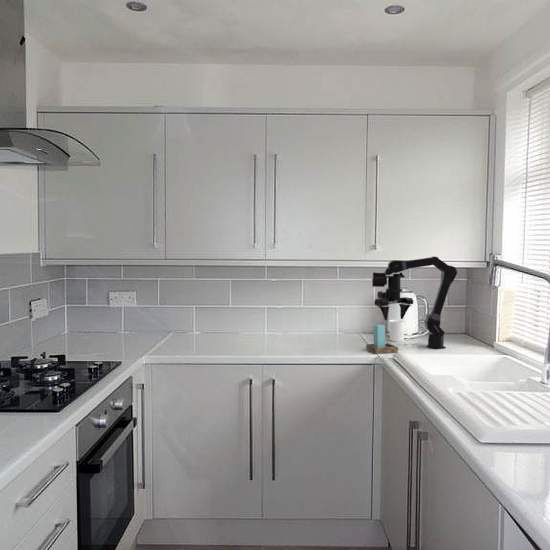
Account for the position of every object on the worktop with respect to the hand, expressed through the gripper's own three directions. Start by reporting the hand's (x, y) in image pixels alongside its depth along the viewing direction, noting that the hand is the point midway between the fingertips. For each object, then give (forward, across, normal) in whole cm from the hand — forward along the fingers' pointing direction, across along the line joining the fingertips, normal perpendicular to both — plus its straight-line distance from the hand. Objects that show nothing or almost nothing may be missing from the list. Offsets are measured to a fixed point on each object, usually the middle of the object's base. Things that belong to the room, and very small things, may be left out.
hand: (393, 319), depth 246 cm
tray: (+13, +11, +6) cm, 18 cm away
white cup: (+13, -11, -12) cm, 21 cm away
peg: (+13, +12, +6) cm, 19 cm away
